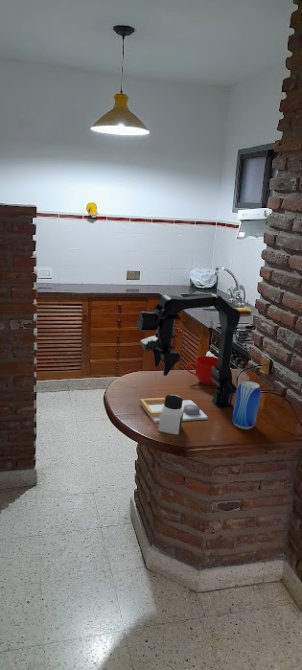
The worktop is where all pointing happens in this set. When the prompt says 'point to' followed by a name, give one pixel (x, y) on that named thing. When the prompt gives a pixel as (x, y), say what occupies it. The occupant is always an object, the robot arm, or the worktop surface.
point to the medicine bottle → (171, 415)
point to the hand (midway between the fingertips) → (160, 371)
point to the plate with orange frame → (156, 405)
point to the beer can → (246, 405)
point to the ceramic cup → (204, 369)
